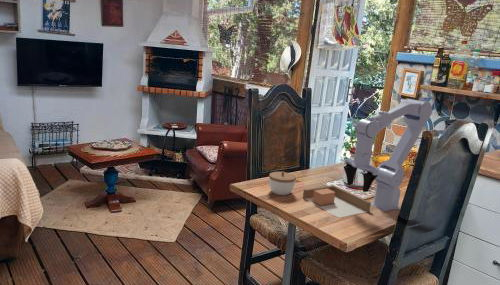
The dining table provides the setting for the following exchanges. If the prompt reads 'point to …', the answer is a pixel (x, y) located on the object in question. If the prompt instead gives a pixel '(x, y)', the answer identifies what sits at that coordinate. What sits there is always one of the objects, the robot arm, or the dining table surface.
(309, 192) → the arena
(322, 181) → the dining table surface
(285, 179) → the lidded jar
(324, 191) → the bar
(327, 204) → the pad
